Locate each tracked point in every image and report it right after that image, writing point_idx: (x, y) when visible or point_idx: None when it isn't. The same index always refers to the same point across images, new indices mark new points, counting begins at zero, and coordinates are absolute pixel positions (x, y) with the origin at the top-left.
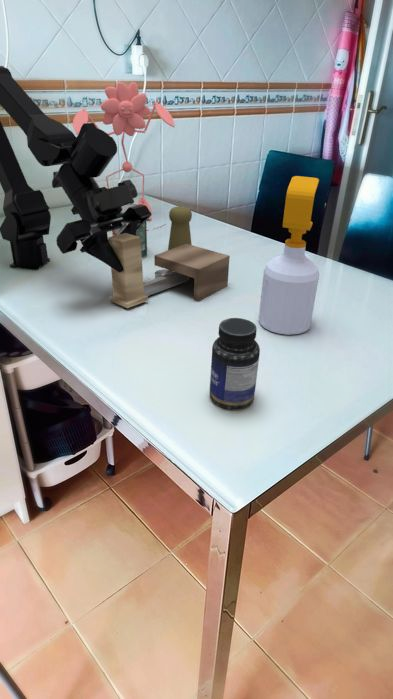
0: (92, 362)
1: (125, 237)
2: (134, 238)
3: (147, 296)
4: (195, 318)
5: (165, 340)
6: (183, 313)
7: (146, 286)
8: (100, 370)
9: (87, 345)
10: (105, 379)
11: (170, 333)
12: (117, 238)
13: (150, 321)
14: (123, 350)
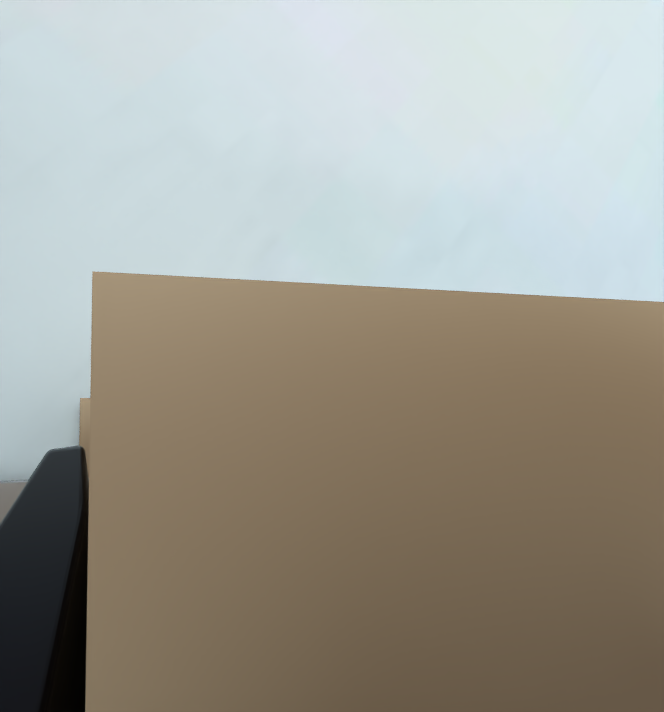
0: (652, 137)
1: (459, 583)
2: (335, 289)
3: (86, 398)
4: (7, 13)
5: (336, 13)
6: (9, 112)
7: (7, 483)
8: (649, 79)
9: (621, 249)
10: (656, 30)
11: (270, 31)
12: (652, 652)
13: (262, 199)
14: (527, 106)
